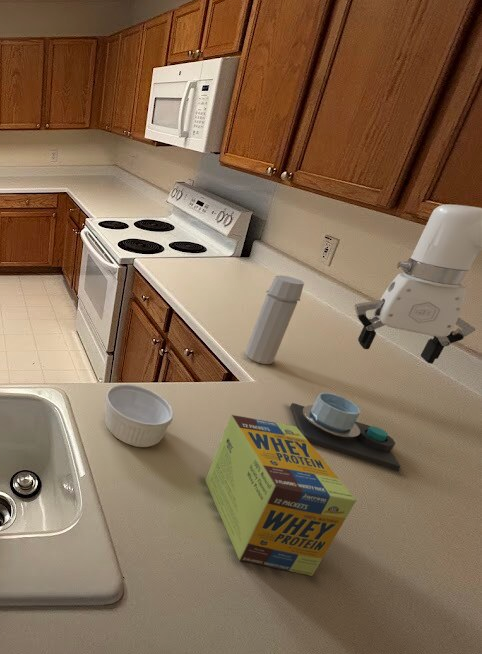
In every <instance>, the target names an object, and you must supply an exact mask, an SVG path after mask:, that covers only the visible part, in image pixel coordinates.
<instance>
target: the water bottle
mask: <svg viewBox="0 0 482 654" xmlns="http://www.w3.org/2000/svg"><path fill="white" fill-rule="evenodd" d="M304 286H305V282H304V281H303V280H301V279H299V278H296V277H292V276H289V275H288V276H287V275H279V274H278V275H275V276H274V278H273V281H272V282H271V284H270V287H269V288H268V290H265V293H266V295H265V298H264V300H263V303H262V306H261V309H260V312H259V314H258V317H257V320H256V322H255V325H254V327H253V330H252V333H251V335H250V338H249V341H248V343H247V346H246V349H245V351H244V353H245V356H246V358H248V359H249V360H250V361H252V362H255V363H257V364H262V365H270V364H273V363H274V361H275V357H276V356H277V353H278V351H279V349H280V346H281V344H282V342H283V338H284V336H285V334H286V331H287V329H288V327H289V324H290V321H291V319H292V317H293V315H294V312H295V309H296V307H297V305H298V302H300V301H301V297H302V292H303V289H304Z"/></svg>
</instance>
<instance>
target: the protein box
mask: <svg viewBox="0 0 482 654" xmlns="http://www.w3.org/2000/svg"><path fill="white" fill-rule="evenodd" d="M204 481H205V484H206V487H207V489H208V491H209V493H210V496H211V498H212V500H213V502H214V505H215V508H216V509H217V512H218V514H219V517H220V518H221V521H222V523H223V526H224V528H225V530H226V533H227V535H228V537H229V540H230V542H231V545H232V547H233V549H234V551H235V554H236V556H237V558H238V561H241V562H246V563H251V564H254V565H255V564H256V565H260V566H265V567H268V568H273V569H278V570H282V571H288V572H293V573H297V574H302V575H306V576H310V577H312V576H314V574H315V572H316V571H317V569H318V567H319V565H320V563H321V562H322V560H323V558H324V557H325V555H326V553H327V551H328V550H329V548H330V546H331V545H332V543H333V541H334V539H335V538H336V536H337V534H338V533H339V531H340V529H341V527H342V526H343V524H344V523H345V521H346V519H347V517H348V516H349V514H350V512H351V510H352V509H353V507H354V506H355V504H356V503H357V498H356V497H355V496H354V495H353V494H352V493H351V491H350V490H349V489H348V487H347V486H346V485H345V484H344V483H343V482H342V480H340V478H339V477H338V476H337V475H336V473H335V472H334V471H333V470H332V468H331V467H330V465H328V463H327V462H326V461H325V460H324V458H323V457H322V456H321V454H320V453H319V452H318V451H317V450H316V449H315V448H314V446H313V444H311V443H309V442H308V440H307V439H306V438H305V437H304V435H303V434H302V433H301V432H300V431H299V429H298V428H297V426H296V425H290V424H286V423H280V422H274V421H269V420H264V419H263V420H262V419H257V418H251V417H245V416H241V415H235V414H231V415H230V417H229V419H228V422H227V425H226V427H225V429H224V432H223V434H222V437H221V440H220V442H219V445H218V447H217V450H216V452H215V455H214V458H213V459H212V463H211V465H210V467H209V469H208V472H207V475H206V477H205V480H204Z"/></svg>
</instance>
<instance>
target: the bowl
mask: <svg viewBox="0 0 482 654" xmlns="http://www.w3.org/2000/svg"><path fill="white" fill-rule="evenodd" d="M312 405H313V407H312V409H311V412H312V414H313V415H314V416H315V418H316V419H317V420H319V421H320V422H322V423H323V424H325V425H327V426H330V427H332V428H335V429H340V430H348V429H352V427H353V426H354V424H355V422H357V420H358V418H359V416H360V414H361V412H362V410H361V408H360V406H358V405H357V404H356V403H354V402H353V401H351V400H350V399H349V398H346V397H343V396H342V395H338V394H335V393H332V392H319V393H318V394H317V396H316V399H315V400H314V403H313V404H312Z"/></svg>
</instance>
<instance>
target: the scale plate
mask: <svg viewBox="0 0 482 654" xmlns="http://www.w3.org/2000/svg"><path fill="white" fill-rule="evenodd" d="M313 405H314V404H312V405H311V404H310V405H305V407H304V408H303V414H304V416H305V417H306V418H307V419H308V420H309V421H310V422H311V423H312V424H314V425H315V426H317V427H319V428H320V429H322V430H324V431H327V432H329V433H331V434H334V435H337V436H341V437H346V438H355V437H358V436H359V435H360V429H359V427H358V426H357V425H356V424H354V426H353V427H352V429H348V430H340V429H335V428H332V427H330V426H327V425H325V424H323V423H322V422H320V421H319V420H317V419H316V418H315V416H314V415H313V414H312V412H311V409H312V407H313Z"/></svg>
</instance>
